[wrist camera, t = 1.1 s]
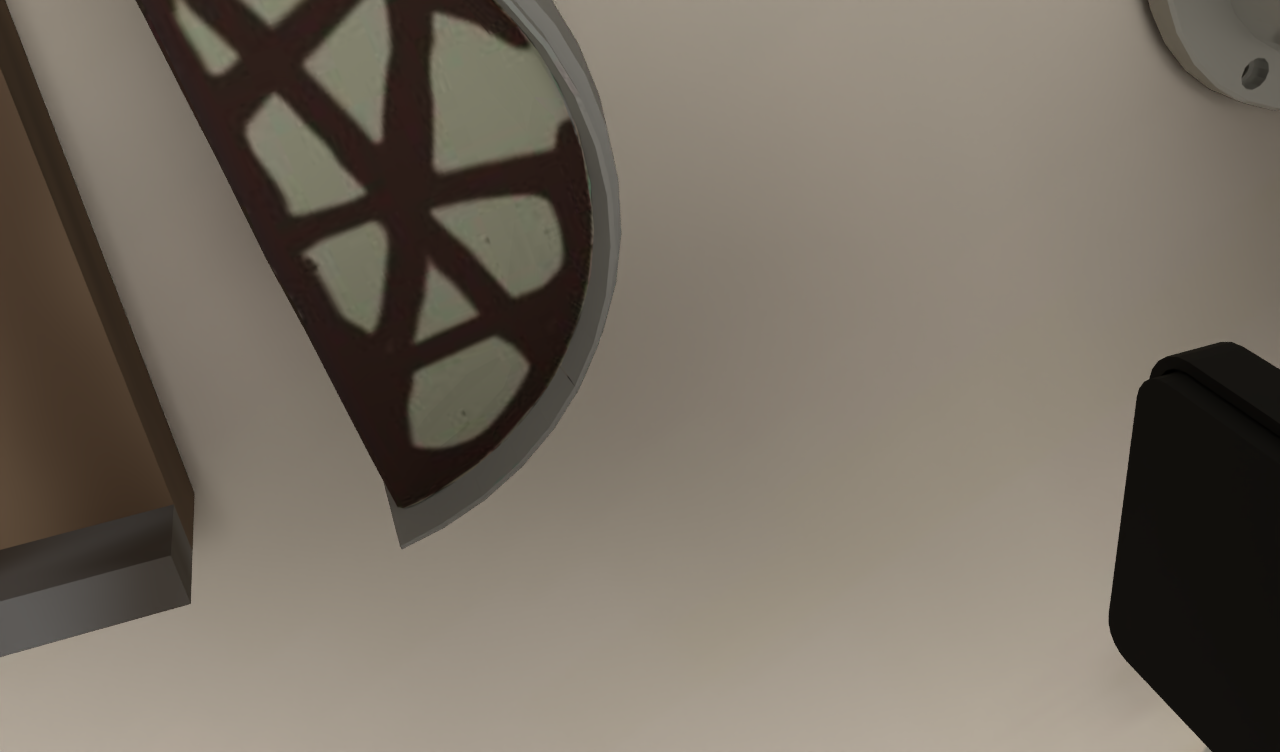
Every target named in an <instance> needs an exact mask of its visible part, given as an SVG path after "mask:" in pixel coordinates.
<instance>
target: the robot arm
mask: <svg viewBox="0 0 1280 752" xmlns="http://www.w3.org/2000/svg"><path fill="white" fill-rule="evenodd" d="M1148 1H1149V6H1150V10H1151V12H1152V14H1153V17H1154V19H1155V22H1156V24H1157V26H1158V29H1159V31H1160V33H1161V36H1162V38H1163V40H1164V43H1165V44H1166V46H1167V47H1168V48H1169V50H1170V51H1171V52H1172V54H1173V55H1174V56H1175V58H1176V59H1177V60H1178V62H1179V63H1180V64H1181V66H1182V67H1183V68H1184V70H1186V71H1187V72H1188V73H1189V74H1191V75H1192V76H1193V77H1195V78H1196V79H1197V80H1198V81H1200V82H1201V83H1202V84H1204V85H1205V86H1206V87H1208V88H1209V89H1211V90H1213V91H1216V92H1218V93H1221V94H1223V95H1225V96H1228V97H1230V98H1233V99H1235V100H1237V101H1240V102H1242V103H1245V104H1249V105H1253V106H1258V107H1262V108H1266V109H1270V110H1274V111H1279V110H1280V0H1148ZM1109 627H1110V632H1111V635H1112V638H1113V640H1114V643H1115V645H1116V647H1117V648H1118V650H1119V652H1120V654H1121V655H1122V656H1123V657H1124V659H1125V660H1126V661H1127V662H1128V663H1129V664H1130V665H1131V666H1132V667H1133V668H1134V670H1135V671H1136V672H1137V673H1138V674H1139V675H1140V676H1141V677H1142V678H1143V679H1144V680H1145V681H1146V682H1147V683H1148V684H1149V685H1150V686H1151V688H1152V689H1153V690H1154V691H1155V692H1156V693H1157V694H1158V695H1159V696H1160V697H1161V698H1162V699H1163V700H1164V701H1165V702H1166V703H1167V704H1168V706H1169V707H1170V708H1171V709H1172V710H1173V711H1174V712H1175V713H1176V714H1177V715H1178V716H1179V717H1180V718H1181V719H1182V720H1183V721H1184V722H1185V724H1186V725H1187V726H1188V727H1189V728H1190V729H1191V730H1192V731H1193V732H1194V733H1195V734H1196V735H1197V736H1198V737H1199V738H1200V739H1201V740H1202V741H1203V743H1204V744H1205V745H1206V746H1207V747H1208V748H1209V749H1210V750H1211V751H1212V752H1280V369H1278V368H1276V367H1275V366H1273V365H1272V364H1270V363H1268V362H1267V361H1265V360H1264V359H1262V358H1260V357H1259V356H1257V355H1256V354H1254V353H1252V352H1251V351H1249V350H1247V349H1246V348H1244V347H1242V346H1240V345H1238V344H1235V343H1233V342H1219V343H1216V344H1212V345H1208V346H1204V347H1201V348H1197V349H1193V350H1190V351H1186V352H1182V353H1178V354H1175V355H1171V356H1167V357H1165V358H1163V359H1161V360H1159V361H1158V362H1157V363H1156V365H1155V366H1154V368H1153V369H1152V371H1151V375H1150V379H1149V380H1147V381H1145V382H1144V383H1143V384H1142V385H1141V387H1140V388H1139V391H1138V395H1137V400H1136V408H1135V416H1134V423H1133V431H1132V439H1131V446H1130V454H1129V462H1128V470H1127V477H1126V485H1125V493H1124V500H1123V508H1122V516H1121V523H1120V531H1119V539H1118V547H1117V554H1116V562H1115V570H1114V577H1113V585H1112V593H1111V601H1110V608H1109Z"/></svg>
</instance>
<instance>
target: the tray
mask: <svg viewBox="0 0 1280 752" xmlns="http://www.w3.org/2000/svg"><path fill="white" fill-rule="evenodd" d="M193 520H194V491H193V489H192V486H191V484H190V481H189V478H188V476H187V473H186V471H185V468H184V465H183V463H182V460H181V458H180V455H179V452H178V450H177V447H176V445H175V442H174V439H173V437H172V434H171V432H170V429H169V426H168V424H167V421H166V419H165V416H164V413H163V411H162V408H161V406H160V403H159V400H158V398H157V395H156V393H155V390H154V387H153V385H152V382H151V380H150V377H149V374H148V372H147V369H146V367H145V364H144V361H143V359H142V356H141V354H140V351H139V348H138V346H137V343H136V340H135V338H134V335H133V333H132V330H131V327H130V325H129V322H128V320H127V317H126V314H125V312H124V309H123V307H122V304H121V301H120V299H119V296H118V294H117V291H116V288H115V286H114V283H113V281H112V278H111V275H110V273H109V270H108V268H107V265H106V262H105V260H104V257H103V255H102V252H101V249H100V247H99V244H98V242H97V239H96V236H95V234H94V231H93V229H92V226H91V223H90V221H89V218H88V216H87V213H86V210H85V208H84V205H83V203H82V200H81V197H80V195H79V192H78V189H77V187H76V184H75V182H74V179H73V176H72V174H71V171H70V169H69V166H68V163H67V161H66V158H65V156H64V153H63V150H62V148H61V145H60V143H59V140H58V137H57V135H56V132H55V130H54V127H53V124H52V122H51V119H50V117H49V114H48V111H47V109H46V106H45V104H44V101H43V98H42V96H41V93H40V91H39V88H38V85H37V83H36V80H35V78H34V75H33V72H32V70H31V67H30V65H29V62H28V59H27V57H26V54H25V52H24V49H23V46H22V44H21V41H20V38H19V36H18V33H17V31H16V28H15V25H14V23H13V20H12V18H11V15H10V12H9V10H8V7H7V5H6V2H5V0H0V657H2V656H6V655H9V654H13V653H16V652H20V651H24V650H27V649H31V648H34V647H38V646H41V645H45V644H49V643H52V642H56V641H59V640H63V639H66V638H70V637H74V636H77V635H81V634H84V633H88V632H92V631H95V630H99V629H102V628H106V627H109V626H113V625H117V624H120V623H124V622H127V621H131V620H134V619H138V618H142V617H145V616H149V615H152V614H156V613H159V612H163V611H167V610H170V609H174V608H177V607H181V606H185V605H188V604H191V580H192V550H193Z"/></svg>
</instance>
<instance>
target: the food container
mask: <svg viewBox="0 0 1280 752" xmlns="http://www.w3.org/2000/svg"><path fill="white" fill-rule="evenodd" d="M136 2H137V4H138V6H139V8H140V9H141V11H142V13H143V15H144V17H145V19H146V21H147V23H148V25H149V27H150V29H151V31H152V33H153V35H154V37H155V39H156V41H157V43H158V45H159V46H160V48H161V50H162V52H163V54H164V56H165V58H166V60H167V62H168V64H169V66H170V68H171V70H172V72H173V74H174V76H175V78H176V80H177V82H178V84H179V86H180V88H181V90H182V92H183V94H184V96H185V98H186V100H187V102H188V104H189V106H190V108H191V109H192V111H193V113H194V115H195V117H196V119H197V121H198V123H199V125H200V127H201V129H202V131H203V133H204V135H205V137H206V139H207V141H208V142H209V144H210V146H211V148H212V150H213V152H214V154H215V156H216V158H217V160H218V162H219V164H220V166H221V168H222V170H223V172H224V174H225V176H226V178H227V180H228V182H229V184H230V186H231V188H232V190H233V192H234V194H235V196H236V198H237V200H238V202H239V204H240V206H241V209H242V211H243V213H244V215H245V217H246V219H247V221H248V223H249V225H250V227H251V229H252V231H253V233H254V235H255V237H256V239H257V241H258V243H259V245H260V247H261V249H262V251H263V253H264V255H265V257H266V259H267V261H268V263H269V265H270V267H271V269H272V270H273V272H274V274H275V276H276V278H277V280H278V281H279V283H280V285H281V287H282V289H283V291H284V292H285V294H286V296H287V298H288V300H289V302H290V303H291V305H292V307H293V309H294V311H295V313H296V314H297V316H298V318H299V320H300V322H301V324H302V325H303V327H304V329H305V331H306V333H307V335H308V337H309V339H310V341H311V343H312V345H313V347H314V348H315V350H316V352H317V354H318V356H319V358H320V360H321V362H322V364H323V366H324V368H325V370H326V372H327V374H328V376H329V378H330V380H331V381H332V383H333V385H334V387H335V389H336V391H337V393H338V395H339V397H340V399H341V401H342V403H343V405H344V407H345V408H346V410H347V412H348V414H349V416H350V418H351V420H352V422H353V424H354V426H355V428H356V430H357V432H358V434H359V436H360V437H361V439H362V441H363V443H364V445H365V447H366V449H367V451H368V453H369V455H370V457H371V459H372V460H373V462H374V464H375V466H376V468H377V470H378V472H379V474H380V475H381V477H382V479H383V481H384V485H385V489H386V493H387V497H388V501H389V505H390V509H391V512H392V516H393V520H394V524H395V528H396V532H397V536H398V540H399V543H400V547H401V549H404V548H405V547H407V546H409V545H411V544H413V543H415V542H417V541H419V540H421V539H423V538H425V537H427V536H429V535H431V534H433V533H435V532H437V531H439V530H441V529H443V528H444V527H446V526H447V525H449V524H450V523H452V522H453V521H455V520H456V519H458V518H459V517H461V516H462V515H463V514H465V513H466V512H468V511H469V510H471V509H472V508H474V507H475V506H477V505H478V504H480V503H481V502H483V501H484V500H485V499H487V498H488V497H489V496H490V495H491V494H492V493H493V492H494V491H496V490H497V489H498V488H499V487H500V486H501V485H502V484H503V483H504V482H506V481H507V480H508V479H509V478H510V477H511V476H512V475H513V474H515V473H516V472H517V471H518V470H519V469H520V468H521V467H522V466H523V465H524V464H525V463H526V461H527V460H528V459H529V458H530V457H531V456H532V454H533V453H534V452H535V451H536V450H537V448H538V447H539V446H540V445H541V444H542V443H543V441H544V440H545V439H546V438H547V437H548V435H549V434H550V433H551V432H552V431H553V430H554V428H555V426H556V425H557V423H558V422H559V420H560V418H561V417H562V415H563V414H564V412H565V410H566V409H567V407H568V406H569V404H570V402H571V401H572V399H573V398H574V396H575V394H576V393H577V391H578V390H579V388H580V385H581V383H582V381H583V379H584V376H585V374H586V372H587V369H588V367H589V365H590V362H591V360H592V358H593V356H594V353H595V351H596V349H597V346H598V344H599V340H600V337H601V334H602V332H603V329H604V325H605V322H606V318H607V314H608V311H609V307H610V303H611V299H612V296H613V292H614V288H615V284H616V277H617V268H618V258H619V249H620V239H621V220H620V202H619V184H618V177H617V172H616V167H615V163H614V158H613V153H612V149H611V144H610V140H609V136H608V131H607V127H606V122H605V118H604V114H603V109H602V105H601V100H600V96H599V94H598V91H597V89H596V86H595V84H594V81H593V79H592V76H591V74H590V71H589V69H588V66H587V64H586V61H585V59H584V56H583V54H582V52H581V49H580V47H579V44H578V42H577V41H576V39H575V37H574V36H573V34H572V32H571V31H570V29H569V27H568V26H567V24H566V23H565V21H564V19H563V18H562V16H561V14H560V13H559V11H558V9H557V8H556V6H555V4H554V3H553V1H552V0H136Z"/></svg>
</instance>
